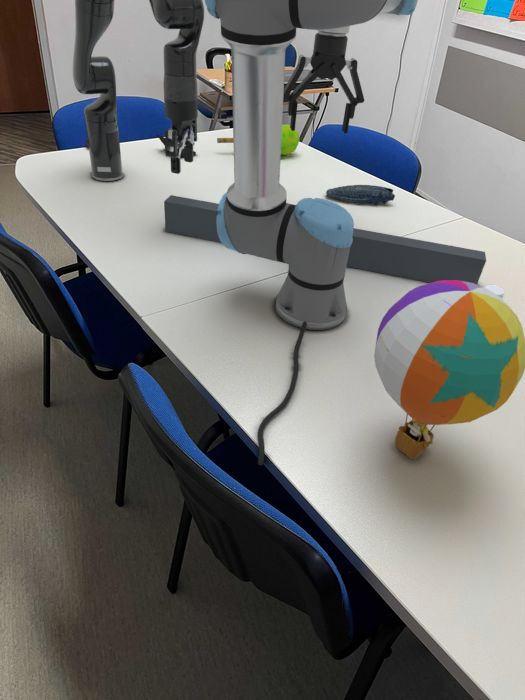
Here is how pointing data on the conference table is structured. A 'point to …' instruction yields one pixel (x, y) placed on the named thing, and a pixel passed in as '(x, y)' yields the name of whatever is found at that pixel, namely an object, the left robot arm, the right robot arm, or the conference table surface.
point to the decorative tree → (287, 140)
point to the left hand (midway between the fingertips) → (182, 167)
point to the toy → (448, 357)
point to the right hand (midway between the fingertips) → (318, 130)
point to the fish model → (362, 194)
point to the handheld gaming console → (169, 146)
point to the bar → (365, 249)
